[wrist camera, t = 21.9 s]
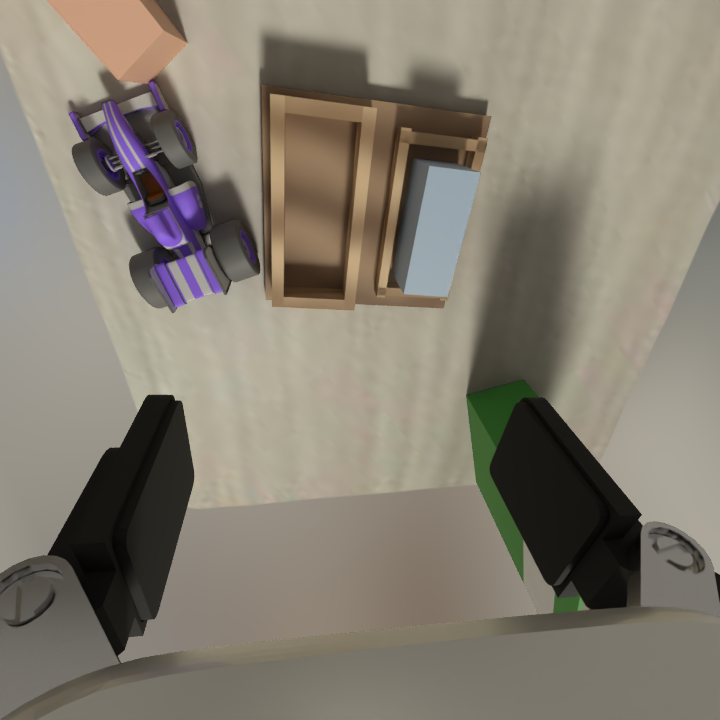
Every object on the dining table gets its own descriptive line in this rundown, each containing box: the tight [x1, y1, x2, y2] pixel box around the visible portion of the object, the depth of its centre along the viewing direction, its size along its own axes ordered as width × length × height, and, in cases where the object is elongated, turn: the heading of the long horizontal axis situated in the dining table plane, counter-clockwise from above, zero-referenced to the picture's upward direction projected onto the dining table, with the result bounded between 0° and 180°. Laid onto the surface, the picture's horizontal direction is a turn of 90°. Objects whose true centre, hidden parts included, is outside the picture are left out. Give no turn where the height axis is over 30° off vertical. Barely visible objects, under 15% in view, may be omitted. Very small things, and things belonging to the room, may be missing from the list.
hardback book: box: [466, 380, 584, 614], centre depth 44 cm, size 18×7×24 cm, turn 14°
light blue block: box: [392, 158, 481, 297], centre depth 33 cm, size 10×4×5 cm, turn 173°
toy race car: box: [69, 81, 260, 313], centre depth 30 cm, size 10×15×6 cm, turn 17°
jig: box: [261, 85, 491, 310], centre depth 34 cm, size 17×18×4 cm
